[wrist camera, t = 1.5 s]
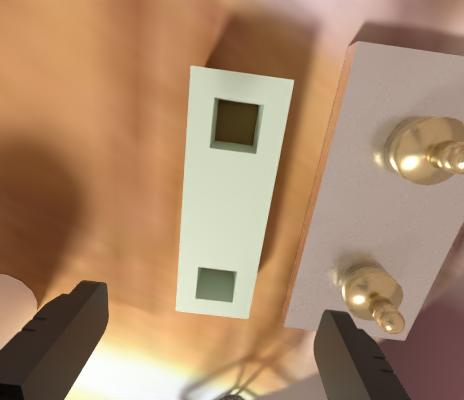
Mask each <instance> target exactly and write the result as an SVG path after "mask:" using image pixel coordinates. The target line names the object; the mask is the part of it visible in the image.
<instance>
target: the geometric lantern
mask: <svg viewBox="0 0 464 400" xmlns="http://www.w3.org/2000/svg"><path fill="white" fill-rule="evenodd" d="M222 400H239V399H238V398H237V397H235V396H234V397H226V398H224V399H222Z"/></svg>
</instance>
